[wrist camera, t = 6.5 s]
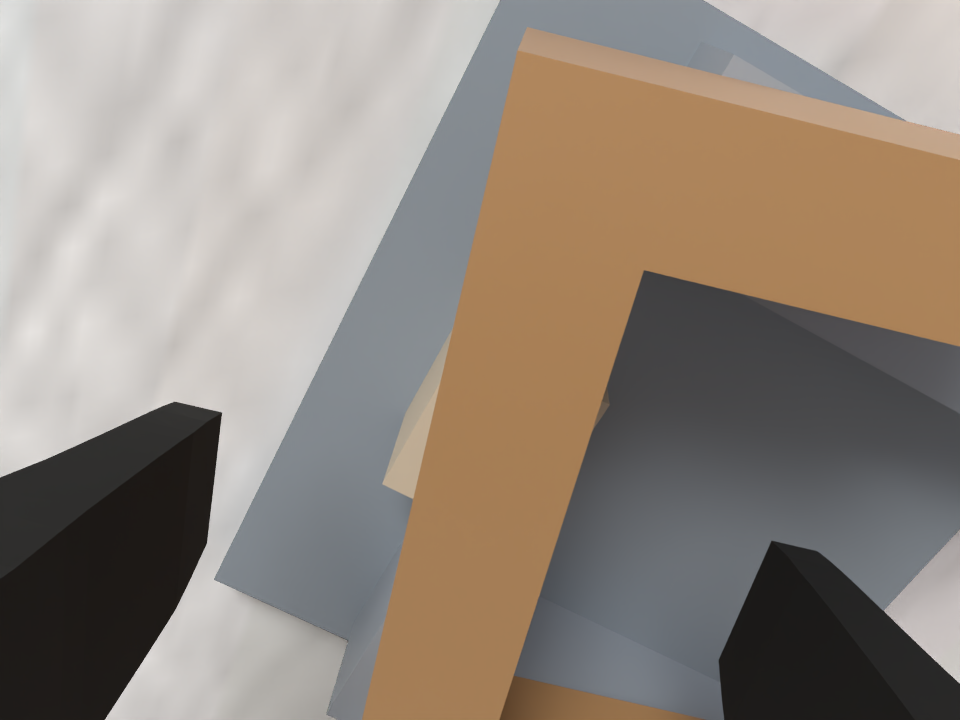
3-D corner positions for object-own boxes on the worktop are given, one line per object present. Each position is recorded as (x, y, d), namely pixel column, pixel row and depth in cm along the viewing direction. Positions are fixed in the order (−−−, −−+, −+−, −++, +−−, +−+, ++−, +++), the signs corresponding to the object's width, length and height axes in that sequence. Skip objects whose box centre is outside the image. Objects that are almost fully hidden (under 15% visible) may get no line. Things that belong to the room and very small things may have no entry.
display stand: (1147, 268, 15) (1308, 346, 12) (697, 765, 21) (724, 910, 17) (546, -89, 14) (546, -110, 10) (229, 550, 19) (165, 666, 16)
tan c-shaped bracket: (1025, 151, 11) (1257, 234, 8) (715, 790, 16) (765, 1029, 12) (527, 27, 11) (517, 50, 7) (366, 711, 16) (312, 930, 12)
